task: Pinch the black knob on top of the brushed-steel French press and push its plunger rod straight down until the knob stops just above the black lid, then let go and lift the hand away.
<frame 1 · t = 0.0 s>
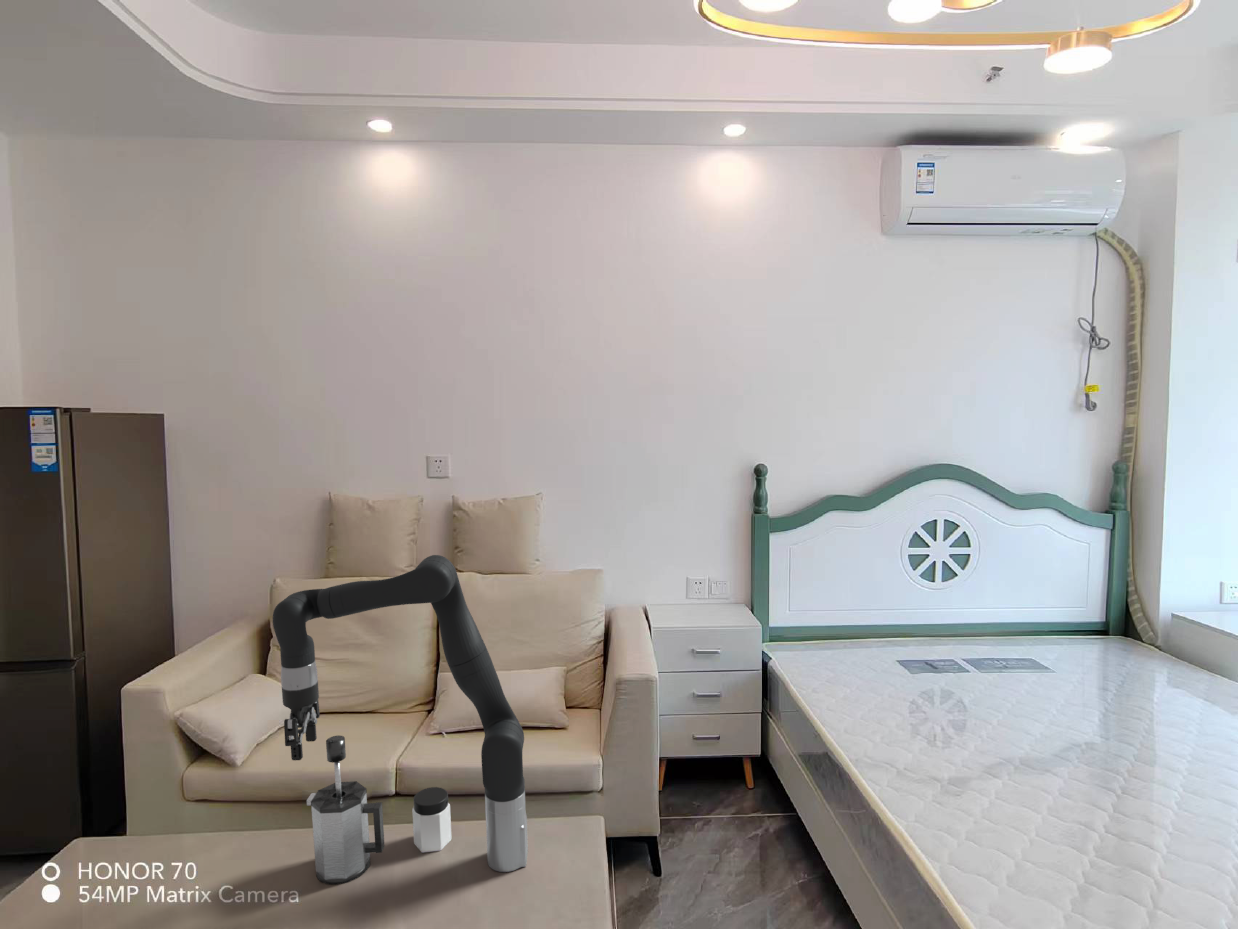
hand: (304, 749, 167), 29 cm above the table, fingers open, 8 cm apart
jar: (432, 842, 179), on the table
plunger: (338, 781, 168), point 21 cm above the table, slide at 0.0 cm
press pot: (343, 867, 171), on the table
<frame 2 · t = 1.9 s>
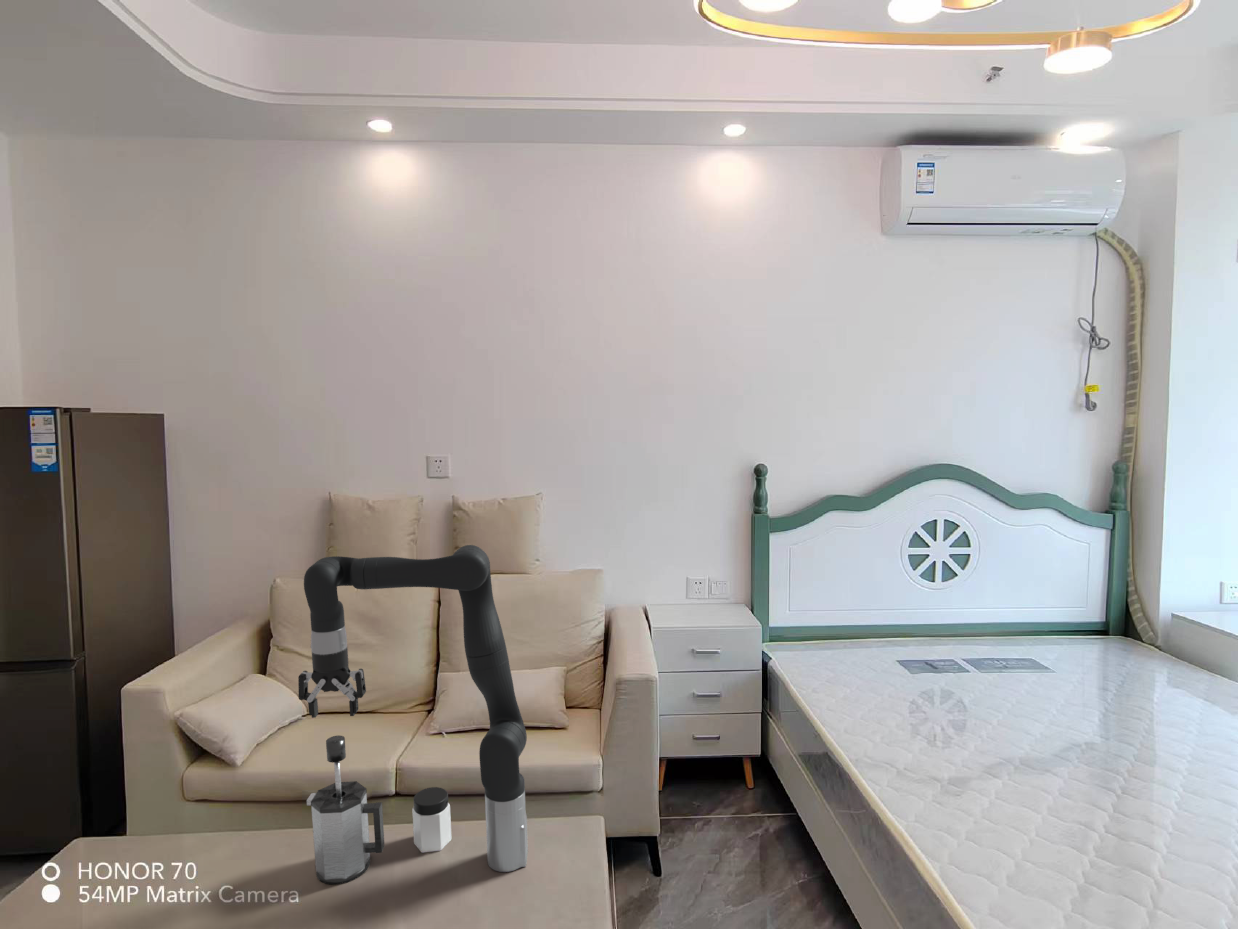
hand: (334, 715, 166), 37 cm above the table, fingers open, 8 cm apart
nothing on the table moved.
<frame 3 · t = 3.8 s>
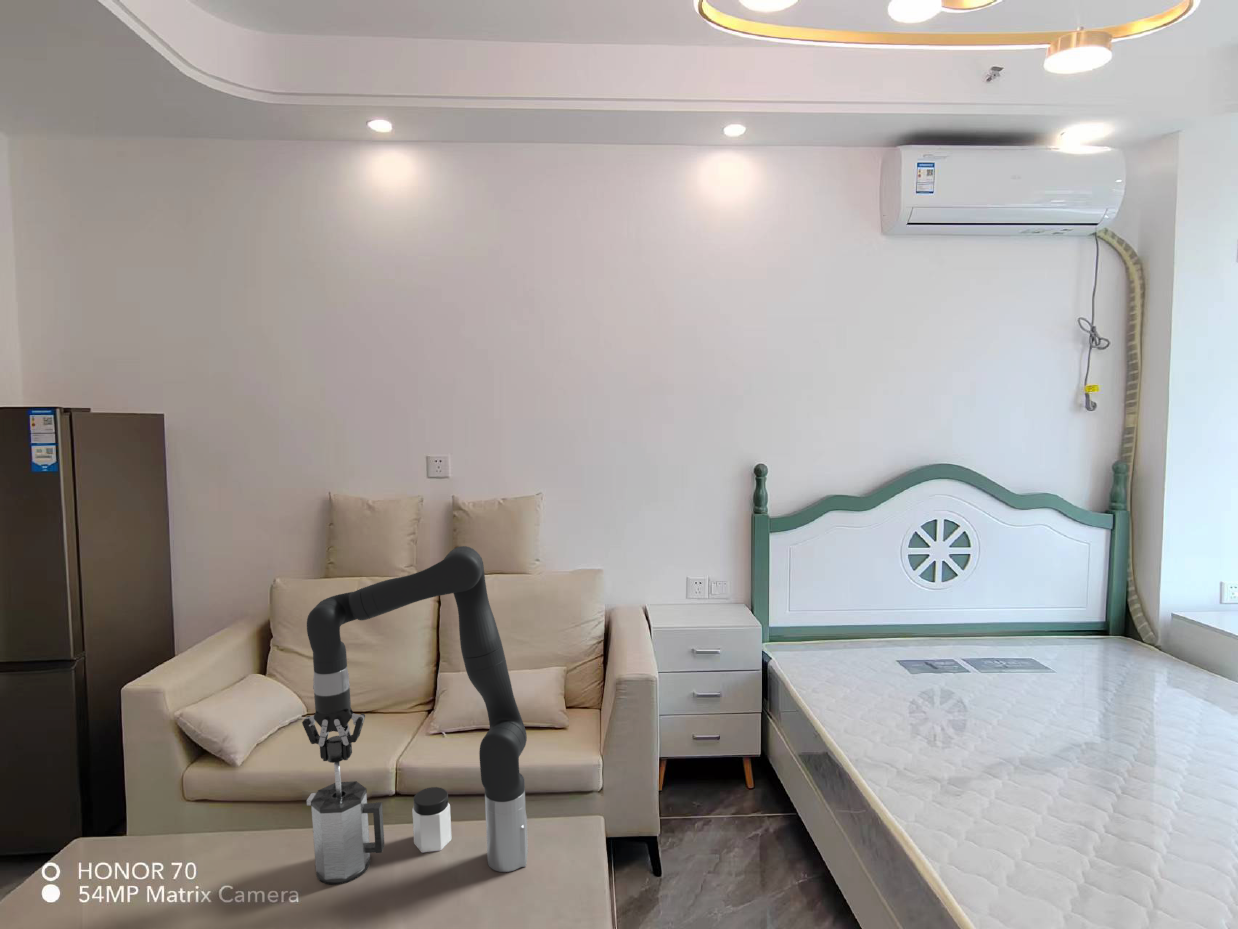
hand: (336, 758, 167), 27 cm above the table, fingers closed on plunger, 4 cm apart
plunger: (338, 781, 168), point 21 cm above the table, slide at 0.0 cm, touching gripper
everything else where it was.
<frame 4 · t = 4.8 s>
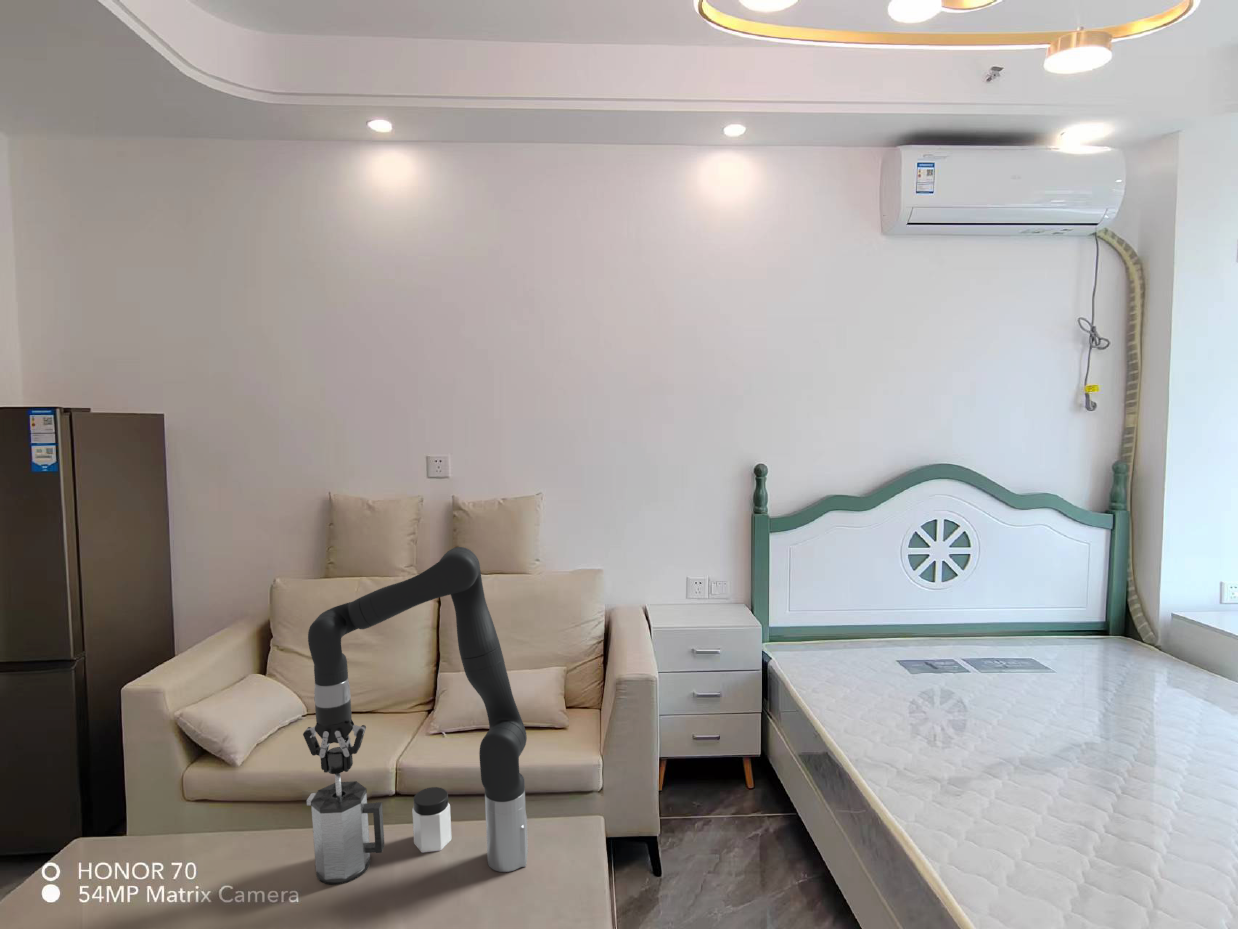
hand: (337, 770, 168), 24 cm above the table, fingers closed on plunger, 4 cm apart
plunger: (338, 793, 168), point 18 cm above the table, slide at 2.8 cm, touching gripper
everything else where it was.
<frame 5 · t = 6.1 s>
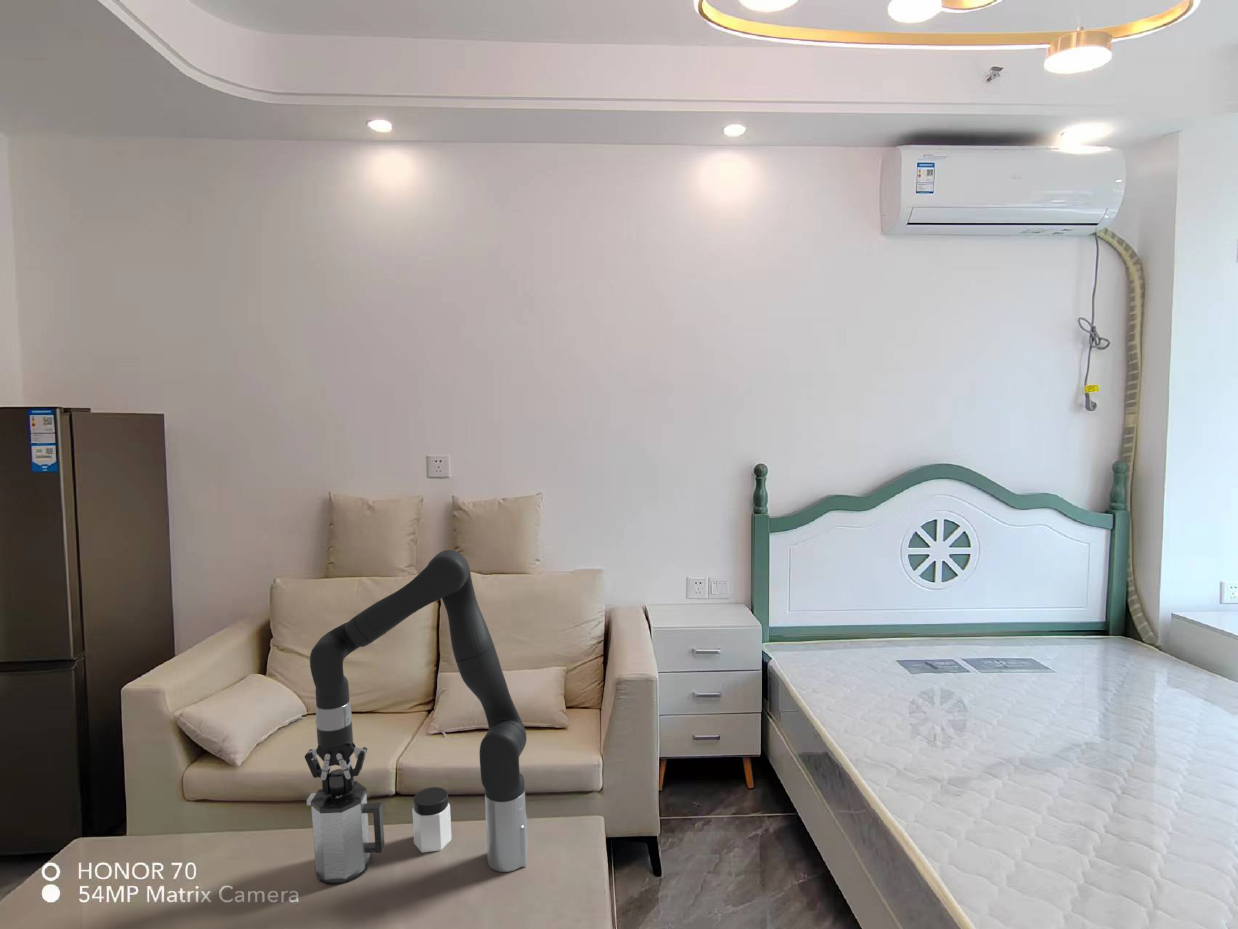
hand: (338, 792, 168), 19 cm above the table, fingers closed on plunger, 4 cm apart
plunger: (340, 815, 169), point 13 cm above the table, slide at 8.2 cm, touching gripper
everything else where it was.
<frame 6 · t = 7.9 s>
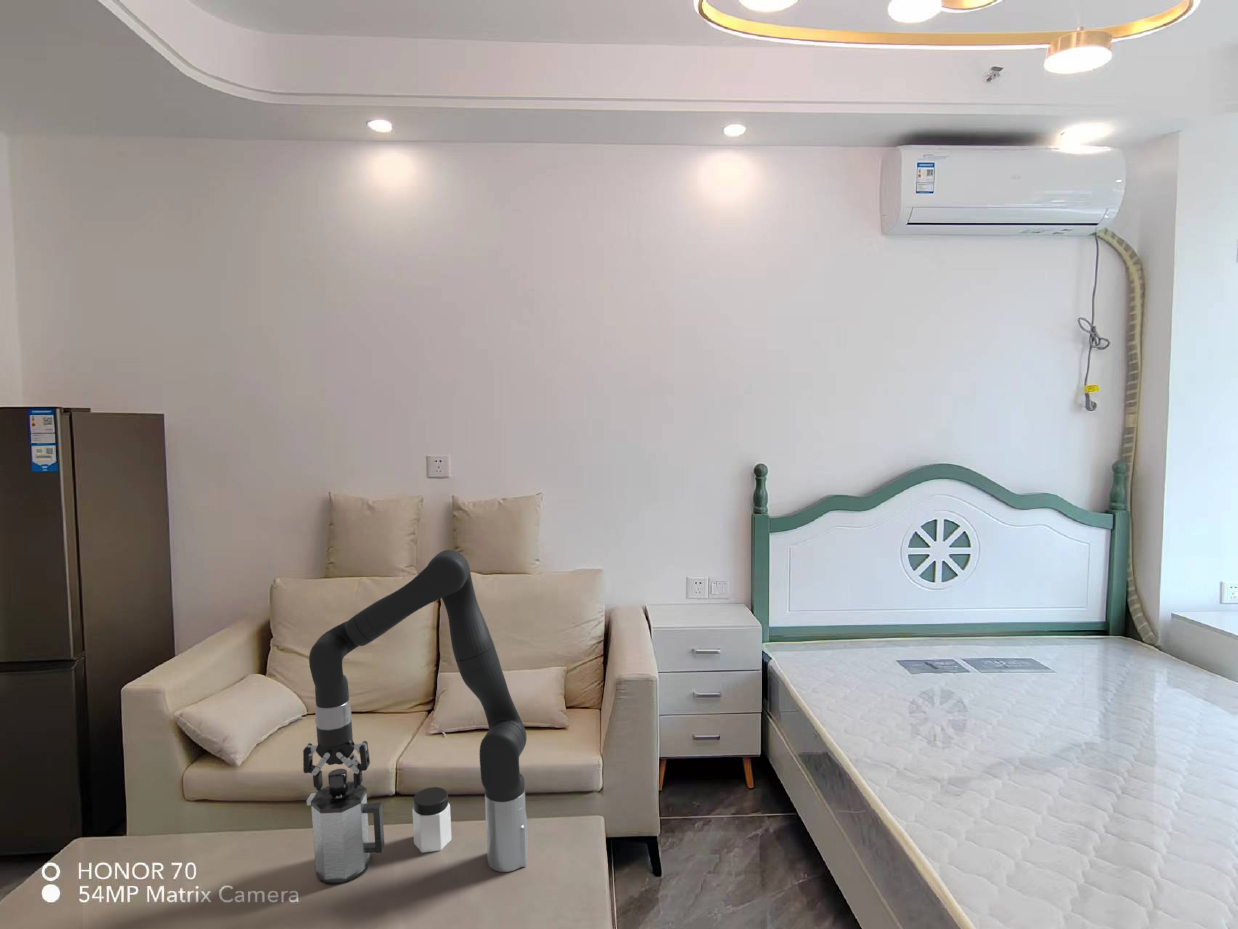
hand: (338, 787, 168), 20 cm above the table, fingers open, 8 cm apart
plunger: (340, 814, 169), point 13 cm above the table, slide at 8.1 cm
everything else where it was.
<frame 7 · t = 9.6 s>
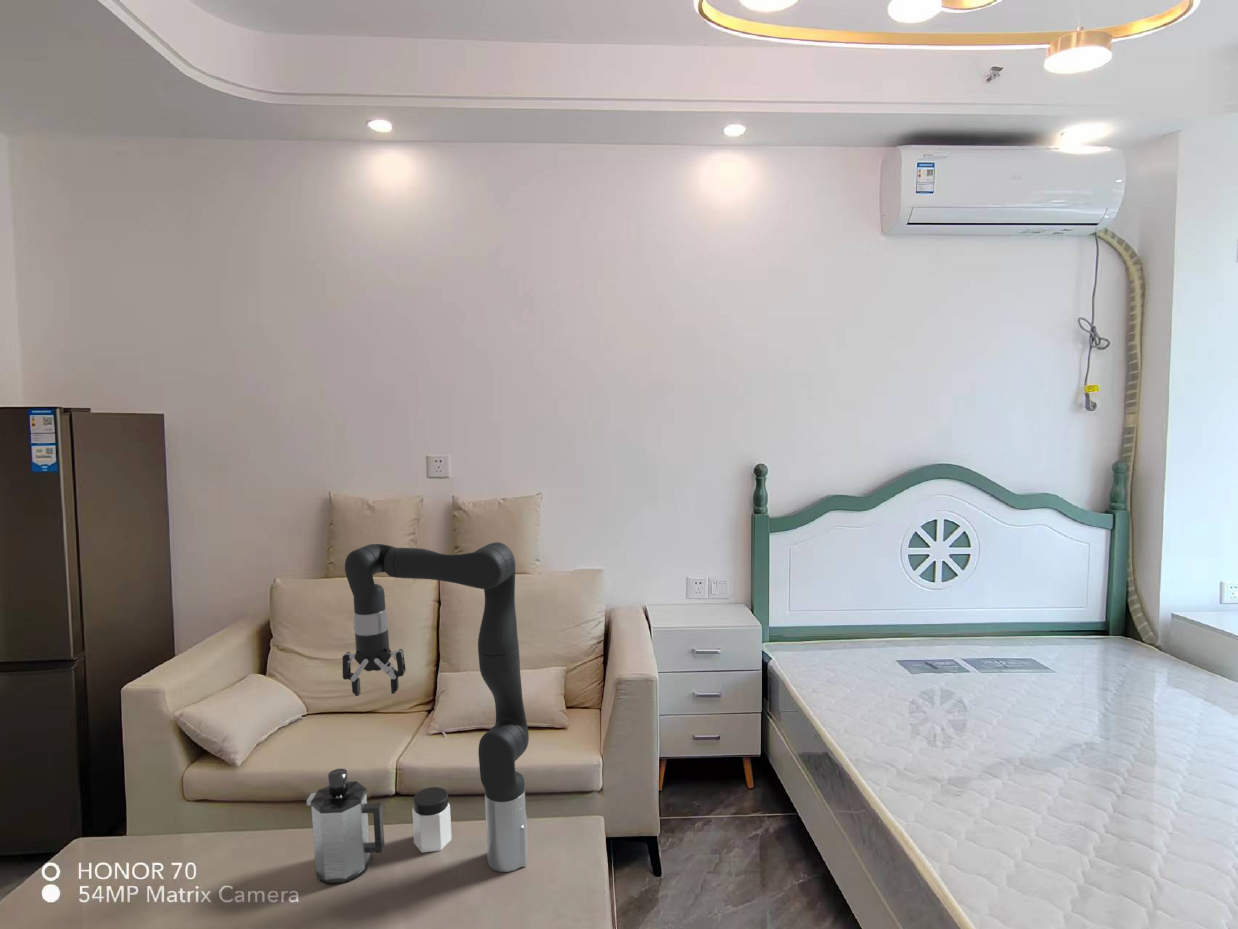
hand: (375, 693, 176), 38 cm above the table, fingers open, 8 cm apart
nothing on the table moved.
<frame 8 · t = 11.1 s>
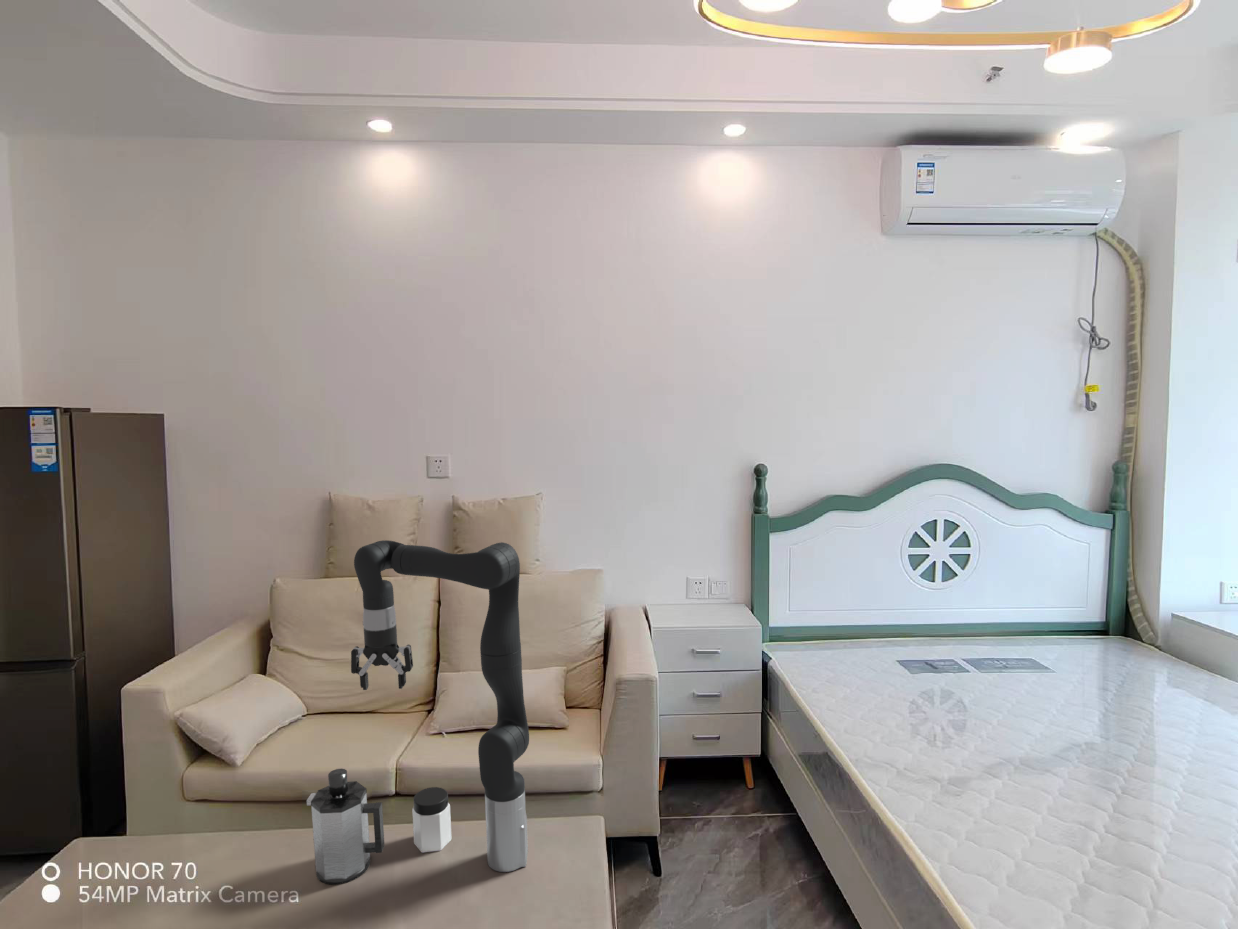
hand: (383, 688, 178), 38 cm above the table, fingers open, 8 cm apart
nothing on the table moved.
at the end: plunger slide at 8.1 cm; the gripper is holding nothing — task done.
